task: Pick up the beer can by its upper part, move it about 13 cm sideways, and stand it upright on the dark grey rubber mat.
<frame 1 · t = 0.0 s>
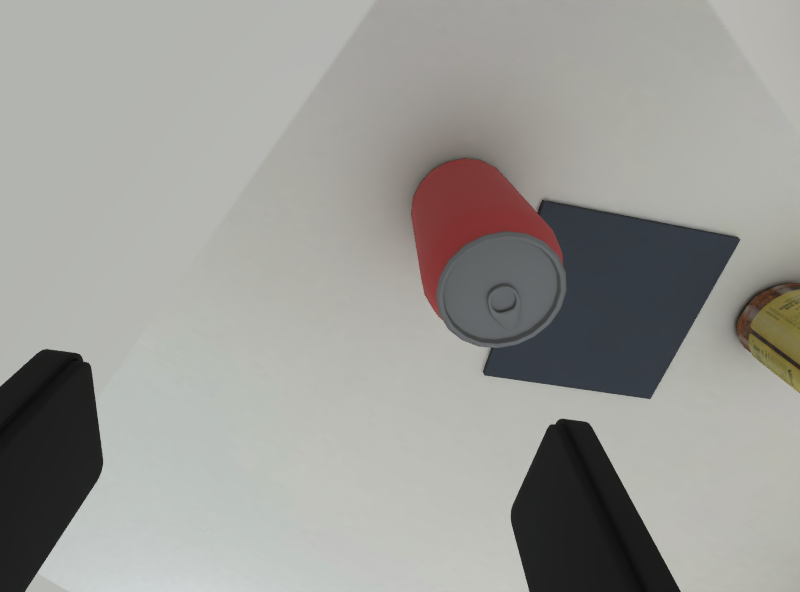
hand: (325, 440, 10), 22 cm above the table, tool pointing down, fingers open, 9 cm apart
sauce bottle: (772, 311, 35), on the table
beer can: (460, 207, 31), on the table
mat: (601, 309, 35), on the table
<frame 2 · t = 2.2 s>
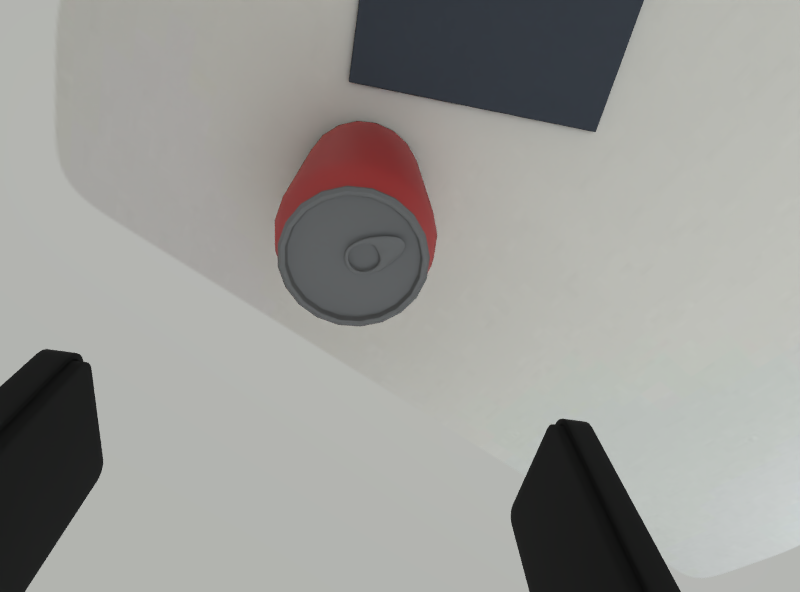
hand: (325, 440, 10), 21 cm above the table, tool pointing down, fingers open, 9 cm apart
beer can: (362, 177, 28), on the table
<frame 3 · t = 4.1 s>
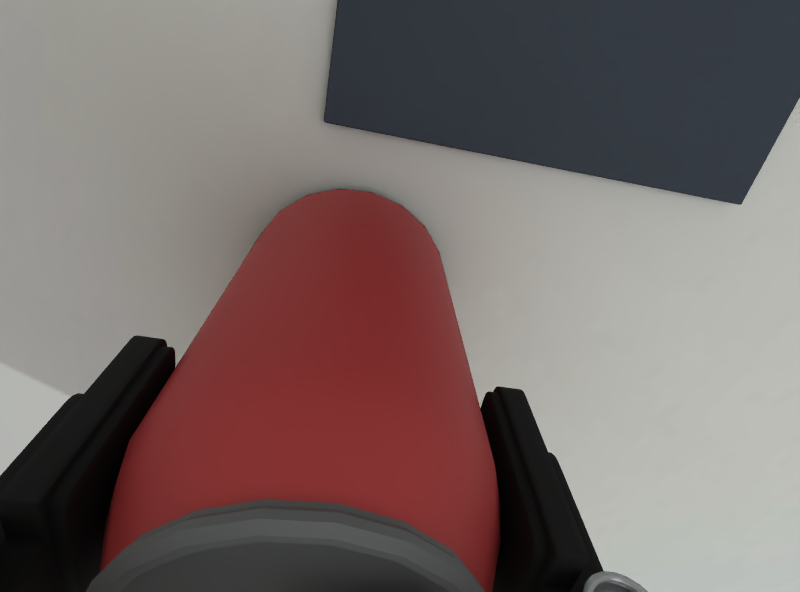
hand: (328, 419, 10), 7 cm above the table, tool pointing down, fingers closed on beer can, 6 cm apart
beer can: (349, 272, 17), on the table, touching gripper
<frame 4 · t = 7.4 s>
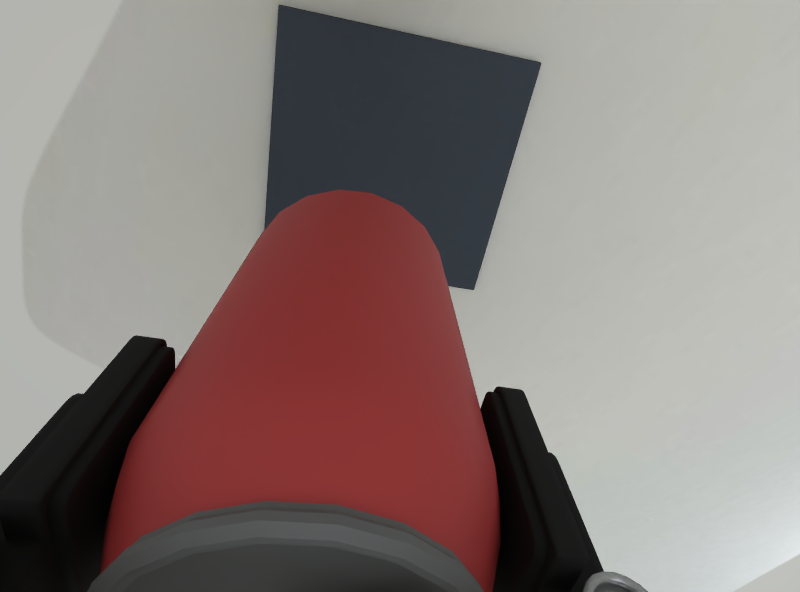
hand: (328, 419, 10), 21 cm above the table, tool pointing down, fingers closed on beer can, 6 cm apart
beer can: (349, 273, 17), point 13 cm above the table, touching gripper
mat: (390, 166, 28), on the table
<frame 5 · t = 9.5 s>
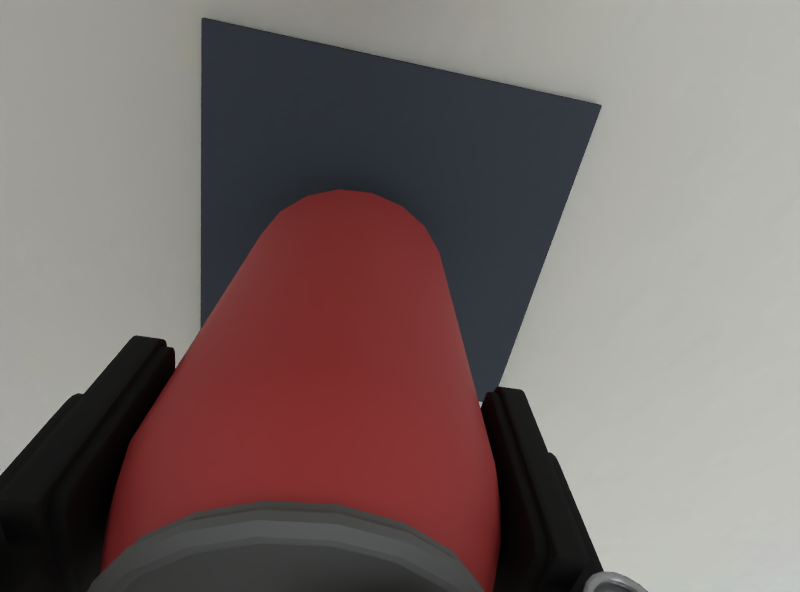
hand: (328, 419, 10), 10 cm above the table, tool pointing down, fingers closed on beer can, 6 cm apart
beer can: (350, 272, 17), point 3 cm above the table, touching gripper
mat: (377, 246, 20), on the table
when the fingers open (8 cm above the table, at t = 10.8 s): beer can stays where it is, resting on mat.
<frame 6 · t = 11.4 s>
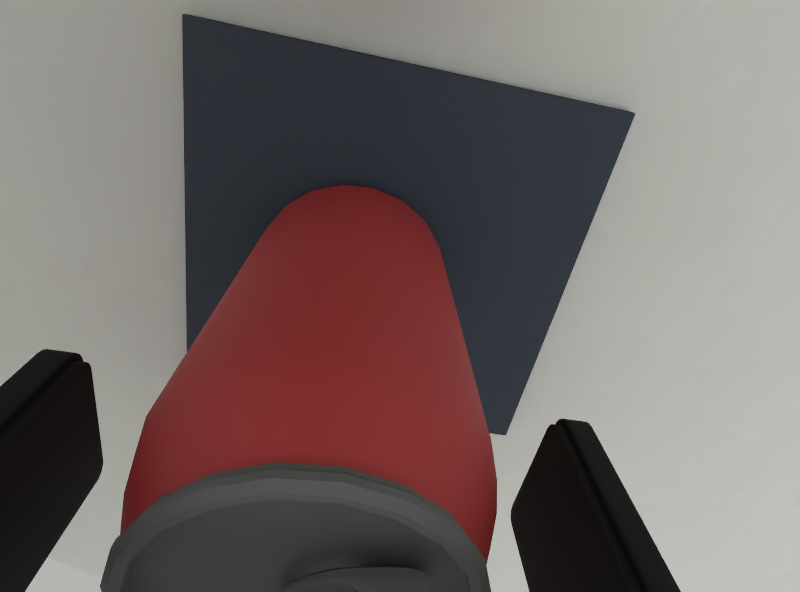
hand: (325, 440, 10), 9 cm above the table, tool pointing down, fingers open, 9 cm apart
beer can: (352, 266, 18), resting on mat
mat: (380, 268, 18), on the table
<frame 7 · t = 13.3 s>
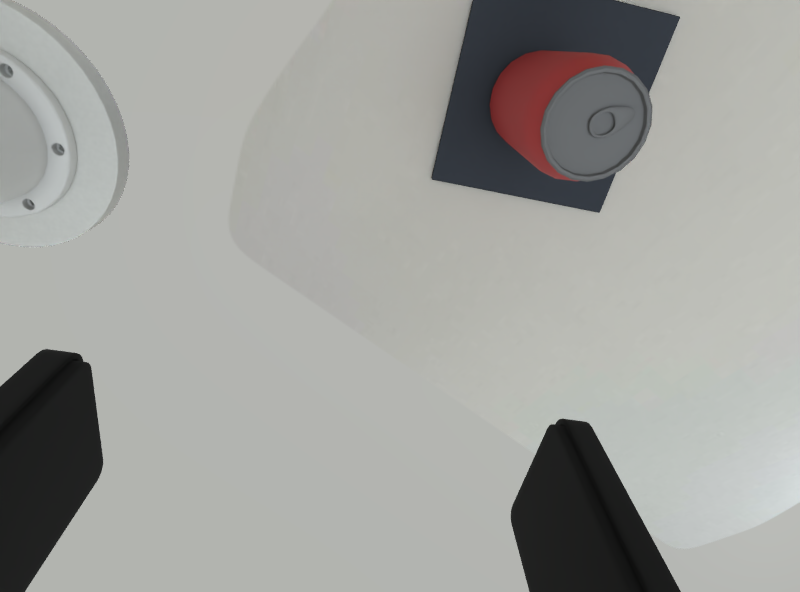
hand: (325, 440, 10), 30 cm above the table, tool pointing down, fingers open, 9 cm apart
beer can: (532, 100, 35), resting on mat
mat: (545, 103, 35), on the table
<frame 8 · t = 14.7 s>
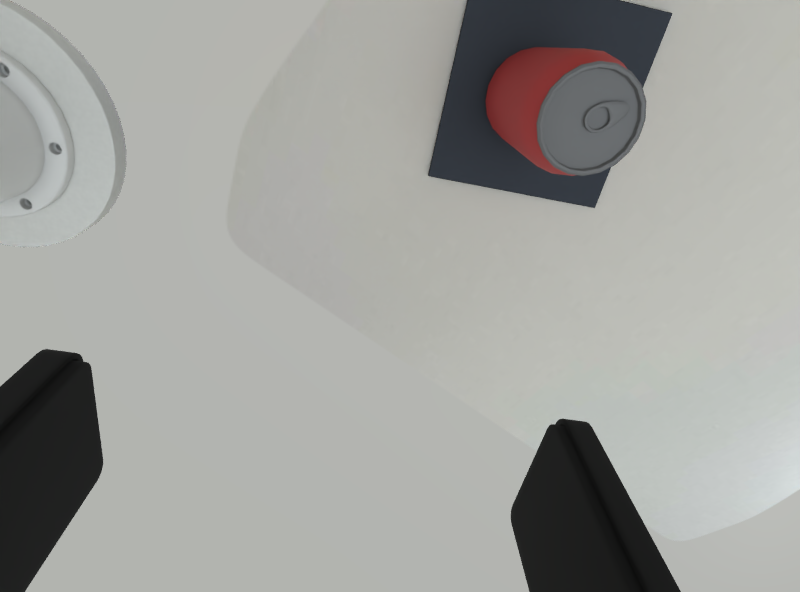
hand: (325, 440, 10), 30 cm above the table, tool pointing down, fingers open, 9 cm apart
beer can: (527, 97, 35), resting on mat
mat: (540, 99, 35), on the table
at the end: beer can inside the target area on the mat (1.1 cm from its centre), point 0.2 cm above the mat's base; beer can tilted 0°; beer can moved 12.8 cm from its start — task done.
